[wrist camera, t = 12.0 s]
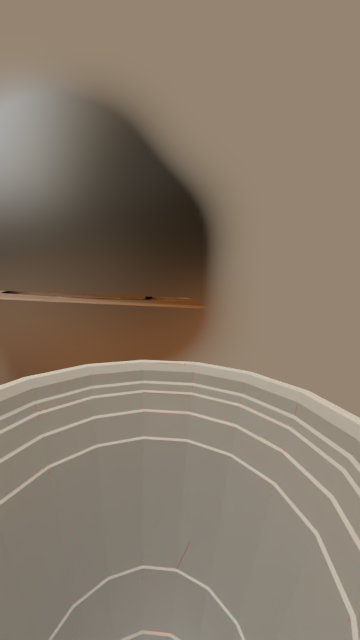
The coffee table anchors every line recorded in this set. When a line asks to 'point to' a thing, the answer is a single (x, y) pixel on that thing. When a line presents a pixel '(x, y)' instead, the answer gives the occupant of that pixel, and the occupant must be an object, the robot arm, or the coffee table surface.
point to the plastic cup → (176, 506)
